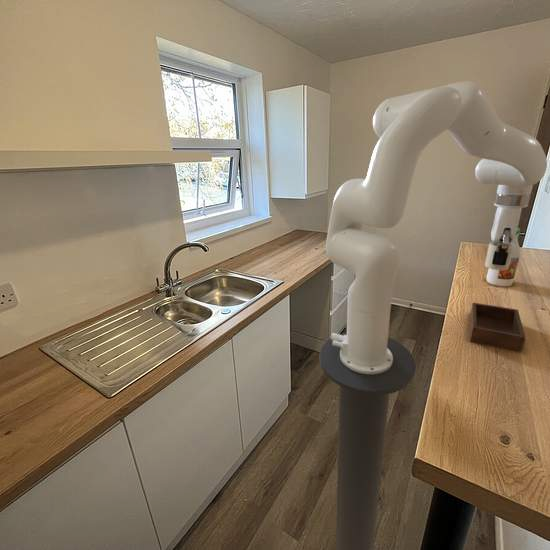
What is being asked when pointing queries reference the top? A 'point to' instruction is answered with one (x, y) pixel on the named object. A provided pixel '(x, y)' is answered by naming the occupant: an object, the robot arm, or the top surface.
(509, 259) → the cream pot
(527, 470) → the top surface
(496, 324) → the wooden box
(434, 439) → the top surface
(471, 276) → the top surface
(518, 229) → the milk bottle
